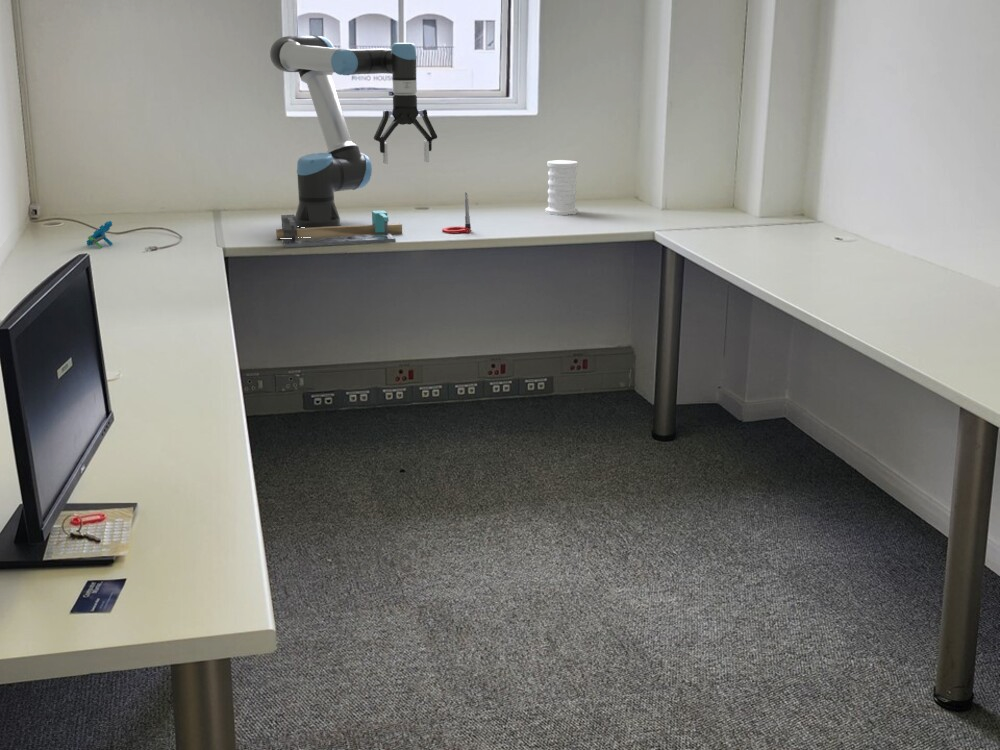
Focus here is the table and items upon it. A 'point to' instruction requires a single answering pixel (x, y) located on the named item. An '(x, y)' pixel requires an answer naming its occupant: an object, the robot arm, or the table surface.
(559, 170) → the decorative container
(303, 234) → the gauge rail
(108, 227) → the blue blocky piece
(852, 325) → the table surface
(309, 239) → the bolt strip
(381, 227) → the sliding jaw
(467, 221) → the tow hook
